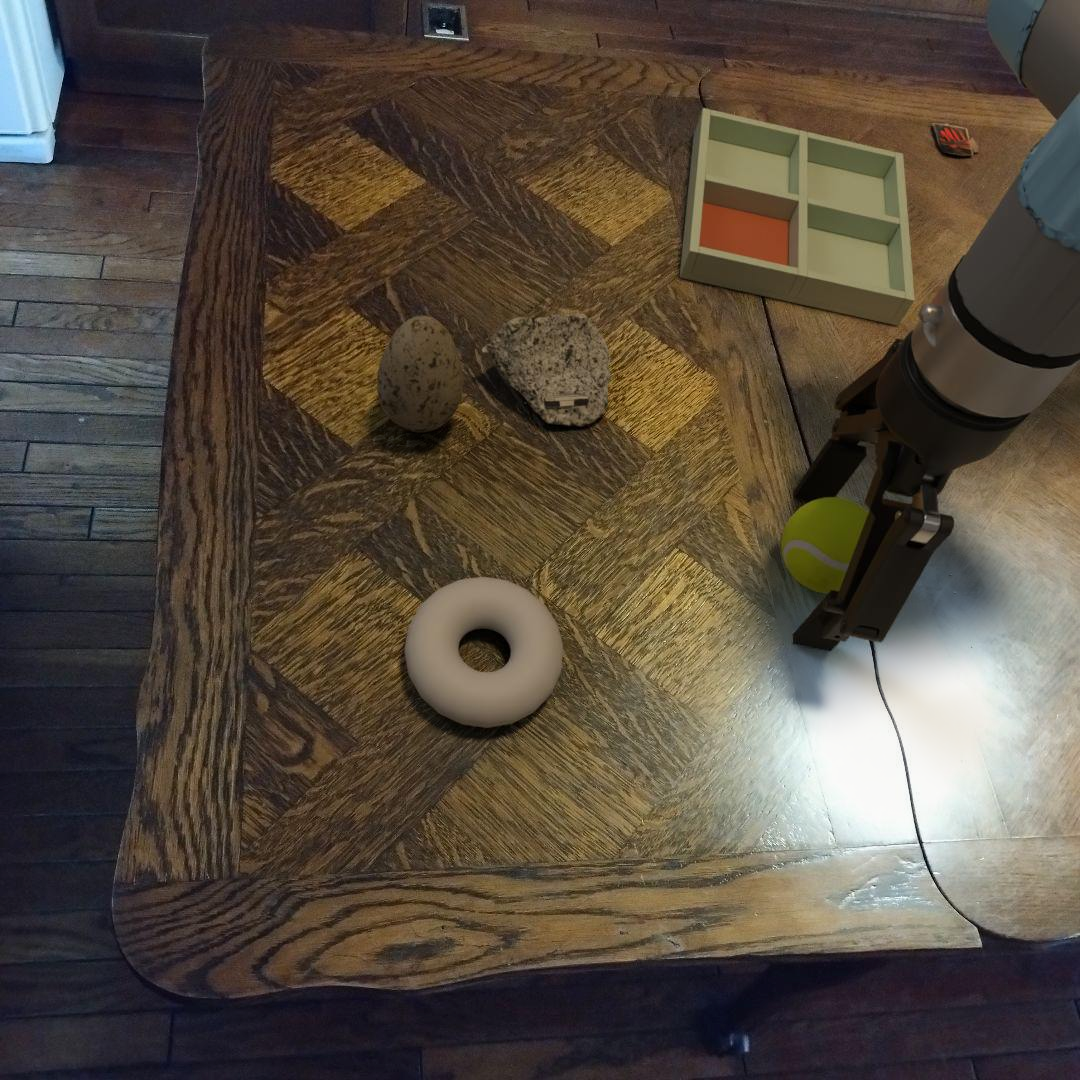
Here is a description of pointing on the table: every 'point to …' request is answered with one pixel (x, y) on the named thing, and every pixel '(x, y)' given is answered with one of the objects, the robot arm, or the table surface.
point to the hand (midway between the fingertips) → (811, 567)
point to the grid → (798, 218)
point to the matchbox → (955, 140)
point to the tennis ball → (822, 542)
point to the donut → (473, 691)
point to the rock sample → (555, 366)
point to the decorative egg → (420, 376)
